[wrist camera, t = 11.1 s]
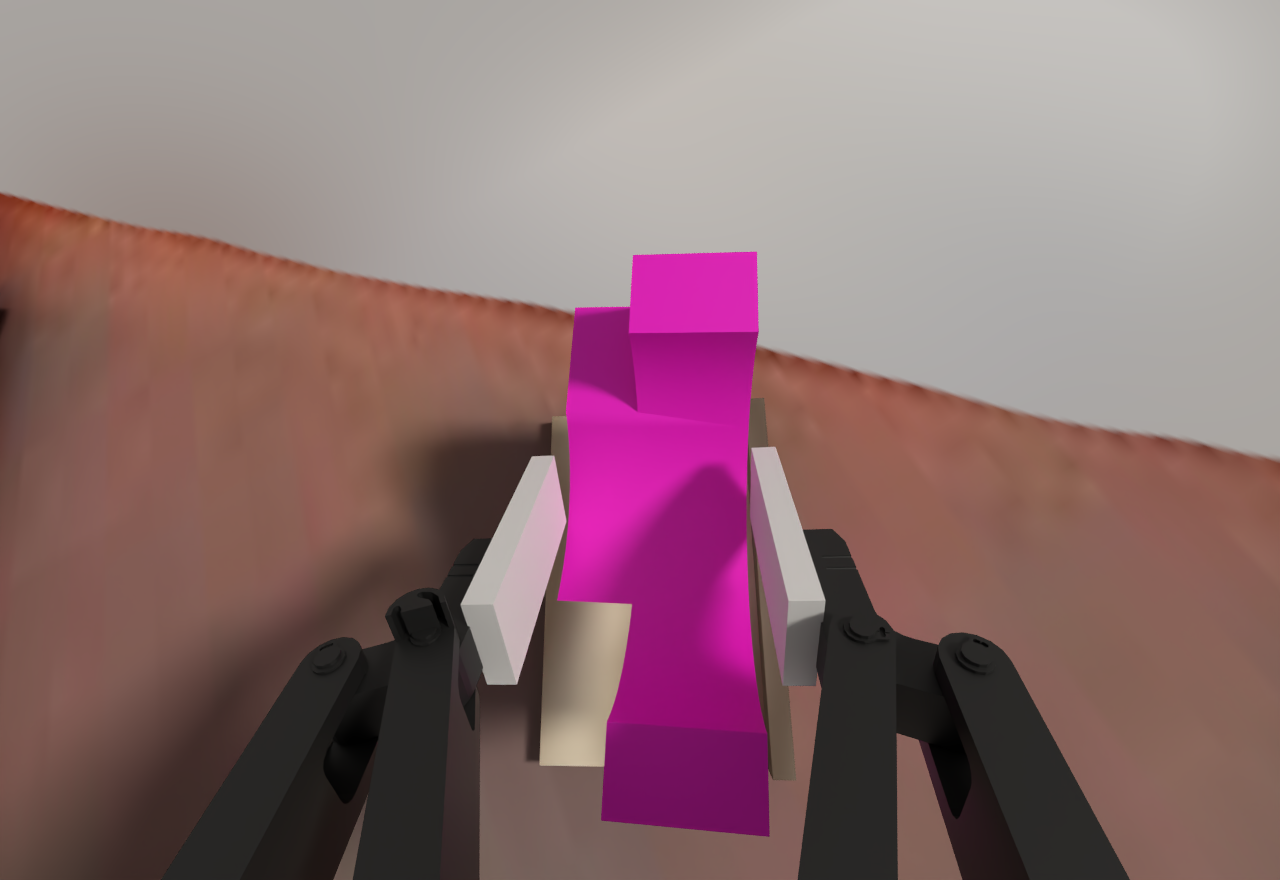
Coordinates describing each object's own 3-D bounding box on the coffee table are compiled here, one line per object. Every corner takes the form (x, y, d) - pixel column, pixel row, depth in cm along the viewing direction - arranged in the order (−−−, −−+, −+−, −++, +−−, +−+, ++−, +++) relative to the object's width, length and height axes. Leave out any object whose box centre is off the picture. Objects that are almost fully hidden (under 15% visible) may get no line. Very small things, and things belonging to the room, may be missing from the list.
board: (545, 759, 27) (530, 775, 24) (556, 421, 32) (545, 407, 29) (786, 762, 26) (796, 780, 23) (758, 413, 31) (764, 398, 28)
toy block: (597, 360, 24) (554, 257, 17) (738, 359, 23) (756, 251, 16) (570, 732, 19) (495, 810, 12) (742, 745, 19) (769, 836, 12)
